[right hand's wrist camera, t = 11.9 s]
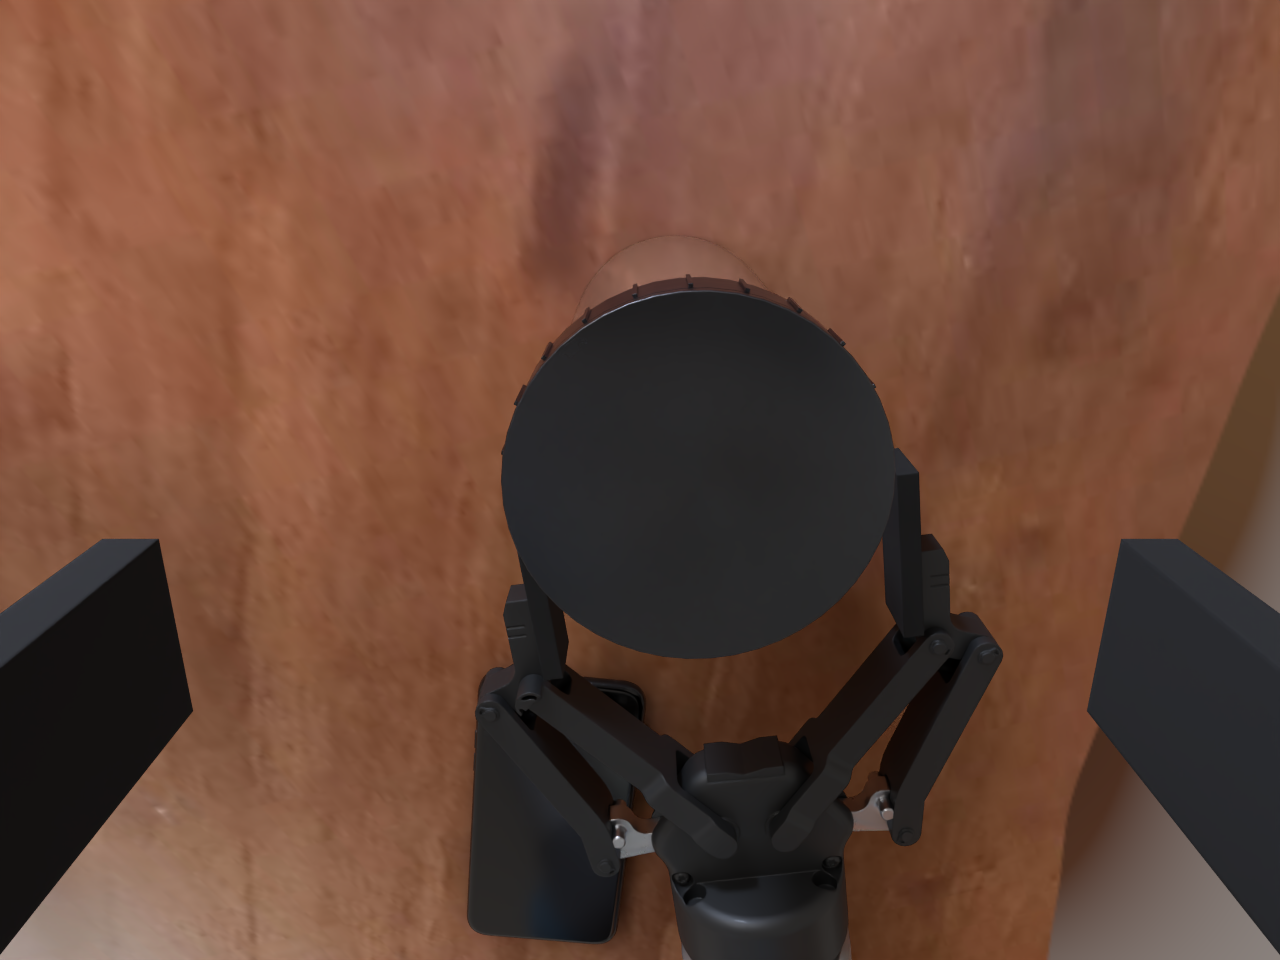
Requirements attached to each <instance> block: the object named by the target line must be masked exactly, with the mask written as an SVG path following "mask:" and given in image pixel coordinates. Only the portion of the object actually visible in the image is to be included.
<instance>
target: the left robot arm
mask: <svg viewBox="0 0 1280 960" xmlns="http://www.w3.org/2000/svg"><path fill="white" fill-rule="evenodd" d="M894 458H895V482H894V495H893V500H892V505H891V509H890V514H889V519H888V521H887V524H886V527H885V530H884V532H883V535H882V536H883V557H884V577H885V597H886V605H887V606H888V608H889V610H890V612H891V614H892V616H893V618H894V620H895V622H896V624H895V626H894V627H893V628H892V629H891V630H890V632H889V633H888V634H887V635H886V636H885V638H884V639H883V640H882V641H881V642H880V644H879V645H878V646H877V647H876V648H875V650H874V651H873V652H872V653H871V654H870V656H869V657H868V658H867V659H866V660H865V662H864V663H863V664H862V665H861V666H860V668H859V669H858V670H857V671H856V672H855V674H854V675H853V676H852V677H851V678H850V680H849V681H848V682H847V683H846V684H845V686H844V687H843V688H842V689H841V690H840V692H839V693H838V694H837V695H836V696H835V698H834V699H833V700H832V701H831V702H830V704H829V705H828V706H827V707H826V708H825V710H824V711H823V712H822V713H821V714H820V716H819V717H818V718H810V719H809V720H808V721H807V722H806V723H805V724H804V725H803V727H802V728H801V729H800V730H799V731H798V733H797V734H796V735H795V736H794V737H793V739H792V740H791V741H790V742H789V743H786V742H782V741H778V739H777V736H768V737H759V738H756V739H753V740H750V741H747V742H744V743H741V744H737V743H728V742H715V743H707V744H704V750H701V751H699V752H697V753H695V754H693V753H691V752H690V751H689V750H687V749H686V748H685V747H683V746H682V745H681V744H679V743H678V742H677V741H675V740H674V739H673V738H671V737H670V736H668V735H666V734H664V735H662V736H660V735H658V734H657V733H656V732H654V731H653V730H652V729H650V728H649V727H648V726H646V725H645V724H644V723H642V722H641V721H640V720H638V719H637V718H636V717H635V716H633V715H632V714H631V713H629V712H628V711H627V710H625V709H624V708H623V707H621V706H620V705H619V704H617V703H616V702H615V701H613V700H612V699H611V698H609V697H608V696H607V695H605V694H604V693H603V692H601V691H600V690H599V689H598V688H596V687H595V686H594V685H592V684H591V683H590V682H588V681H587V680H586V679H584V678H583V677H582V676H580V675H579V674H578V673H576V672H575V671H574V670H572V669H571V668H570V667H568V666H567V665H566V664H565V663H566V656H567V649H568V643H569V640H568V635H567V630H566V625H565V619H564V614H563V610H561V609H560V608H559V607H558V606H557V605H556V604H555V603H554V602H553V601H552V600H551V599H550V598H549V597H548V596H547V594H546V593H545V592H544V591H543V590H542V589H541V588H540V586H539V585H538V584H537V582H536V581H535V579H534V578H533V577H532V575H531V574H530V573H529V571H528V570H527V568H526V566H525V564H524V562H523V560H522V559H521V557H520V555H519V553H518V557H519V562H520V567H521V572H522V577H523V581H524V584H519V585H511V587H510V591H509V594H508V597H507V601H506V605H505V609H504V614H503V616H504V621H505V625H506V630H507V635H508V639H509V644H510V648H511V653H512V658H513V662H514V664H513V665H511V666H509V667H507V668H502V667H496V668H493V669H491V670H490V671H489V672H487V674H486V677H485V680H484V683H483V687H482V690H481V693H480V697H479V700H478V704H477V707H476V711H475V716H476V718H477V720H478V722H479V723H480V724H481V725H482V726H483V727H484V729H485V730H486V731H487V732H488V733H489V734H490V735H491V736H492V738H493V739H494V740H495V741H496V742H497V743H498V744H499V745H500V747H501V748H502V749H503V750H504V751H505V752H506V753H507V755H508V756H509V757H510V758H511V759H512V760H513V761H514V762H515V764H516V765H517V766H518V767H519V768H520V769H521V770H522V771H523V773H524V774H525V775H526V776H527V777H528V778H529V779H530V781H531V782H532V783H533V784H534V785H535V786H536V787H537V788H538V790H539V791H540V792H541V793H542V794H543V795H544V796H545V797H546V799H547V800H548V801H549V802H550V803H551V804H552V805H553V807H554V808H555V809H556V810H557V811H558V812H559V813H560V814H561V816H562V817H563V818H564V819H565V820H566V821H567V822H568V823H569V825H570V826H571V827H572V828H573V829H574V830H575V831H576V832H577V834H578V835H579V836H580V837H581V839H582V842H583V844H584V847H585V850H586V853H587V856H588V859H589V862H590V864H591V867H592V869H593V871H594V873H596V874H597V875H599V876H602V877H611V876H613V875H615V874H616V873H618V871H619V869H620V859H621V858H626V857H631V856H636V855H641V854H646V853H651V852H656V854H657V855H658V856H659V857H660V858H661V859H662V860H663V861H664V863H665V864H666V866H667V868H668V870H669V875H670V881H671V888H672V894H673V900H674V906H675V912H676V918H677V924H678V931H679V935H680V939H681V942H682V957H683V960H852V958H851V945H850V937H849V929H848V908H847V895H846V882H845V868H844V847H845V844H846V842H847V840H848V839H849V837H850V835H851V833H852V831H883V830H889V831H890V834H891V837H892V839H893V841H894V842H895V843H896V844H898V845H901V846H909V845H912V844H914V843H916V842H917V841H918V840H919V838H920V836H921V829H922V820H923V810H924V801H925V799H926V797H927V796H928V794H929V792H930V790H931V788H932V786H933V785H934V783H935V781H936V779H937V777H938V776H939V774H940V772H941V770H942V768H943V766H944V765H945V763H946V761H947V759H948V757H949V756H950V754H951V752H952V750H953V748H954V747H955V745H956V743H957V741H958V739H959V737H960V736H961V734H962V732H963V730H964V728H965V727H966V725H967V723H968V721H969V719H970V717H971V716H972V714H973V712H974V710H975V708H976V707H977V705H978V703H979V701H980V699H981V697H982V696H983V694H984V692H985V690H986V688H987V687H988V685H989V683H990V681H991V679H992V677H993V676H994V674H995V672H996V670H997V668H998V667H999V665H1000V663H1001V661H1002V658H1003V652H1002V650H1001V648H1000V647H999V645H998V644H997V642H996V641H995V639H994V638H993V637H992V635H991V634H990V632H989V631H988V630H987V628H986V627H985V625H984V624H983V622H982V621H981V620H980V618H979V617H978V616H977V615H976V614H974V613H972V612H964V613H960V614H959V615H956V614H952V613H950V586H949V560H948V558H947V556H946V554H945V552H944V550H943V548H942V547H941V546H940V544H939V543H938V542H937V540H936V539H935V538H934V536H933V535H932V534H926V535H921V521H920V491H919V472H918V471H917V470H916V469H915V467H914V466H913V465H912V464H911V463H910V461H909V460H908V459H907V458H906V457H905V455H904V454H903V453H902V452H901V451H900V449H899V448H894ZM517 552H518V551H517ZM908 704H909V705H908ZM907 705H908V707H907V709H906V711H905V713H904V715H903V716H902V718H901V720H900V722H899V724H898V726H897V728H896V730H895V732H894V734H893V736H892V738H891V740H890V741H889V743H888V745H887V747H886V750H885V752H884V754H883V757H882V761H881V764H880V771H879V772H877V771H874V772H871V773H869V775H868V781H867V783H866V784H865V787H864V789H863V791H862V792H861V793H860V794H858V795H857V796H854V797H849V798H847V796H846V795H845V793H844V792H843V790H844V789H845V788H846V786H847V785H848V783H849V781H850V779H851V774H852V770H853V768H854V766H855V765H856V764H857V762H858V761H859V760H860V759H861V758H862V757H863V756H864V754H865V753H866V752H867V751H868V750H869V749H870V748H871V746H872V745H873V744H874V743H875V742H876V741H877V739H878V738H879V737H880V736H881V735H882V734H883V733H884V731H885V730H886V729H887V728H888V727H889V726H890V725H891V723H892V722H893V721H894V720H895V719H896V718H897V716H898V715H899V714H900V713H901V712H902V711H903V710H904V708H905V707H906V706H907ZM566 737H568V738H569V739H570V740H572V741H573V742H575V743H576V744H577V745H579V746H580V747H581V748H583V749H584V750H585V751H587V752H588V753H590V754H591V755H592V756H594V757H595V758H596V759H598V760H599V761H600V762H602V763H603V764H605V765H606V766H607V767H609V768H610V769H611V770H613V771H614V772H616V773H617V774H618V775H620V776H621V777H622V778H624V779H625V780H626V781H628V782H629V783H631V784H632V785H633V786H635V787H636V788H637V789H639V790H640V791H641V792H642V794H643V796H644V798H645V800H646V801H647V803H648V804H649V805H650V806H651V807H652V808H653V809H654V812H653V814H652V818H651V819H642V818H639V817H637V816H636V815H634V813H633V812H632V811H631V809H630V808H629V807H627V804H626V802H625V801H624V800H622V799H617V800H615V801H614V800H613V797H612V795H611V793H610V791H609V789H608V787H607V786H606V784H605V783H604V782H603V780H602V779H601V778H600V776H599V775H598V774H597V773H596V772H595V770H594V769H593V768H592V767H591V766H590V765H589V763H588V762H587V761H586V760H585V759H584V758H583V756H582V755H581V754H580V753H579V752H578V751H577V749H576V748H575V747H574V746H573V745H572V743H571V742H570V741H569V740H568V739H567V738H566Z"/></svg>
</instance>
